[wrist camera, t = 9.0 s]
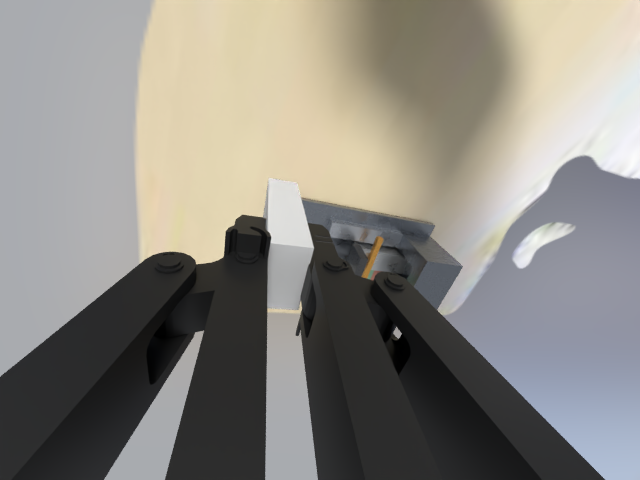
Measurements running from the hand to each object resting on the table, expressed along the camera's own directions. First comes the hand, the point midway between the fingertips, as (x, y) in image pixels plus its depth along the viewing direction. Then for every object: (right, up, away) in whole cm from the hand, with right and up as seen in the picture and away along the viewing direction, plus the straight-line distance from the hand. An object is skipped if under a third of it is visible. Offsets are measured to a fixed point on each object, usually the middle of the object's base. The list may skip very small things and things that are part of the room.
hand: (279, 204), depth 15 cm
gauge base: (+7, -3, +30) cm, 31 cm away
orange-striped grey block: (+12, -4, +30) cm, 33 cm away
